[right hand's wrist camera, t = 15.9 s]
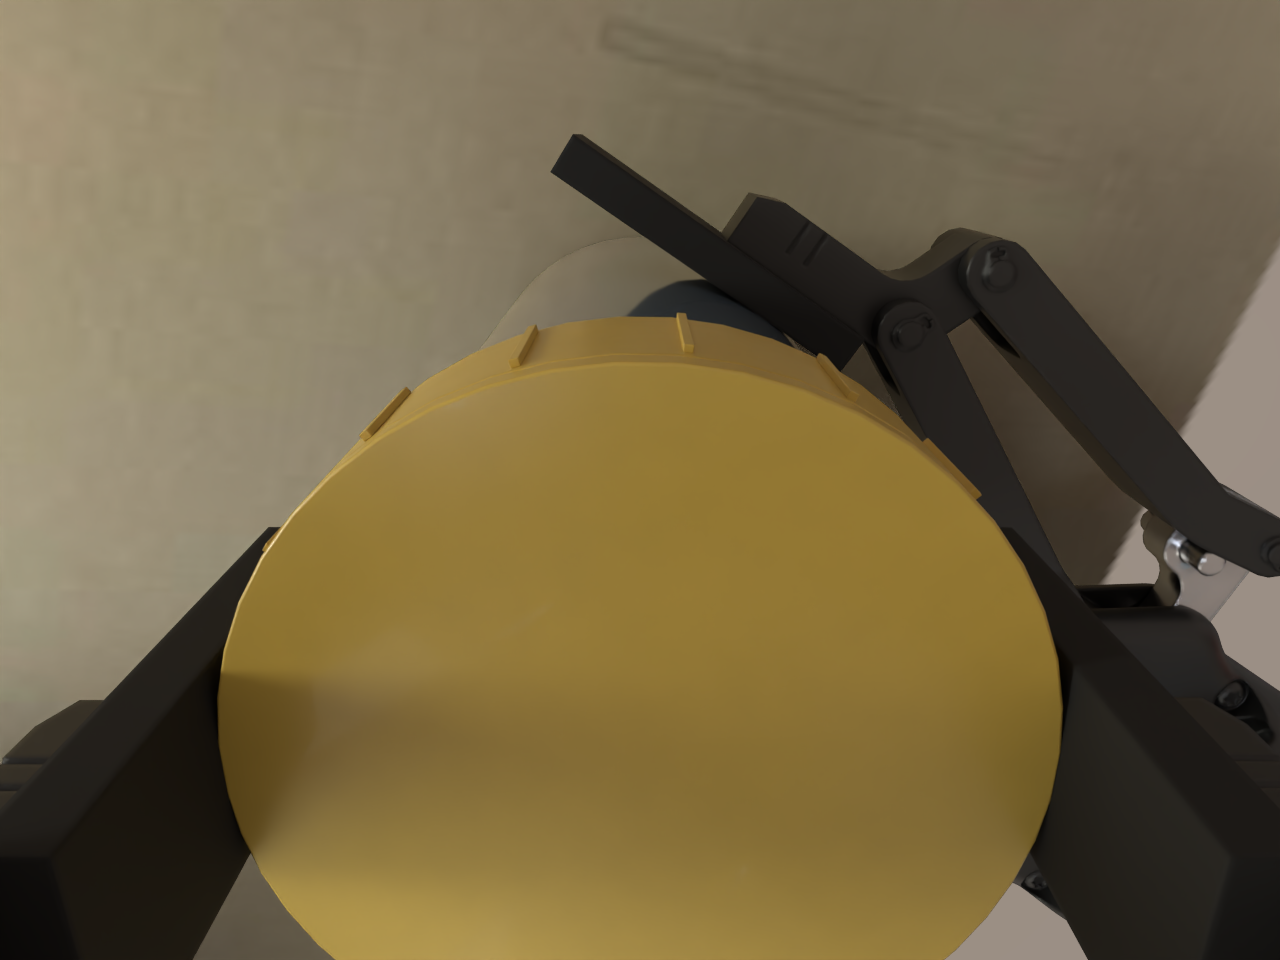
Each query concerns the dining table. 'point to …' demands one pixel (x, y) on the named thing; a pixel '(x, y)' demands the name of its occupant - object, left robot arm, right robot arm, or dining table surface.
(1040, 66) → the dining table surface
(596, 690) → the lid
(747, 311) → the jar
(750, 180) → the dining table surface
